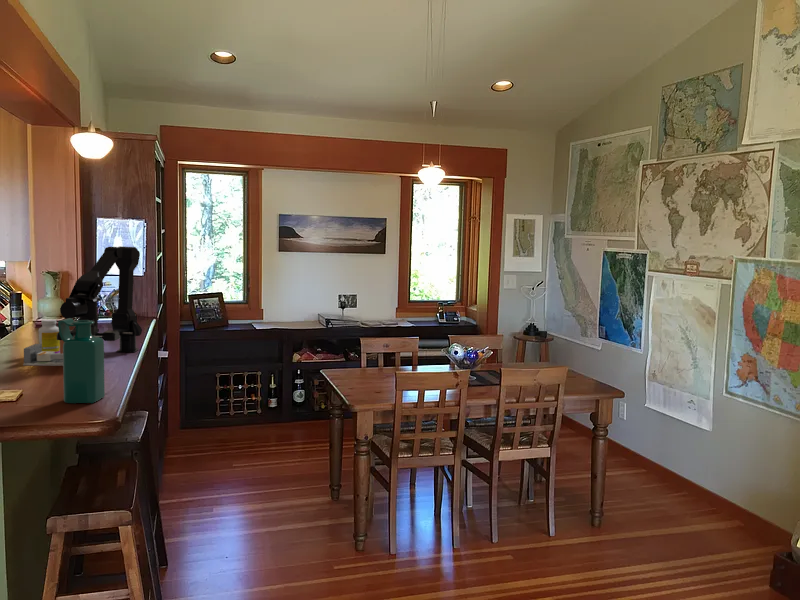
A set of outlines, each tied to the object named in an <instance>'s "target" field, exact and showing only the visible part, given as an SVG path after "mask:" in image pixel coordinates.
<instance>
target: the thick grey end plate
mask: <svg viewBox="0 0 800 600" xmlns="http://www.w3.org/2000/svg"><path fill="white" fill-rule="evenodd" d="M53 359H63V352H62V353H61V352H60V353H55V351H42V352H40V353H37V361H51V360H53Z"/></svg>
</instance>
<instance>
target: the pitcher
mask: <svg viewBox="0 0 800 600" xmlns="http://www.w3.org/2000/svg"><path fill="white" fill-rule="evenodd" d="M57 324H58V325H57V327H58V328H59V334H60V337H61V339H62V340H61V341H63V344H62V354H63V366H62V372H63V378H62V379H63V402H64V403H65V404H76V403H91V404H95V403H97V402H98V401H100V400H101V398H102V399H104V398H105V394H106V393H105V391H106V389H105V341H104V340H103V339H102V338H100V337H96V336H92V334H91V324H94V321H92V320H78V319H77V320H74V318H68V319H66V318H63V319H61V320H58V321H57ZM75 326H76V335H75V337H73V336H72V335H71V333H70V330H71V329H70V327H75ZM96 401H97V402H96ZM94 402H95V403H94Z"/></svg>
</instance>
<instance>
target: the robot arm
mask: <svg viewBox="0 0 800 600" xmlns="http://www.w3.org/2000/svg"><path fill="white" fill-rule="evenodd" d="M103 250H104V251H103V253H102V255H101V256H100V257H99V259H98V260H97V261H96V262H95V264H94V265H93V266H92V268H91V269H90V270H89V271H88V272H86V273H84V274H82V275H81V276H80V277H79V278H77V280H75V283H74V284H73V287H72V289H71V292H70V294H69V297H66V298H65V301H64V302H63V303H62V304H61V306H60V308H59V311H60V315H61V316H62V317H63V319H68V318H72V319H75V318H78V319H77V320H92V321H94V324H91V334H92V336H96V337H100V338H102V339H103V341H104V342H106V341H107V342H114V341H117V340H119V348H118V349H117V350H116V353H136V352H137V351H138V350H140V348H139V347H137V337H139V336H141V335H142V331H143V328H142V327H141V325H140V324H139V322H138V319H137V318H138V317H137V314H136V313H135V311H134V309H133V300H134V299H133V298H134V273H135V272H134V271H135V270H136V268H137V267H138V265H139V261H140V255H141V253H140V251H139V250H138V248H137V247H136V246H107V247H105V248H104V249H103ZM114 265H116V267H117V268H118V274H119V275H118V295H117V296H118V297H117V298H118V300H117V309H116V311H115V312H113V313H112V314H111V322H110V323H111V328H112V330H109V329H108V330H105V331H104V332H103V331H102V332H99V331H100V329H99V324H98V323H99V319H100V318H99V316H98V315H99V314H98V302H101V301H102V298H100V297H99V296H98V295H99V294H100V293H101V291H102V288H103V287H104V278H106V276H107V275H108V273H109V272H110V270H111V269H112V267H113V266H114ZM70 333H71V335H72V336H73V337H75V335H76V326H74V328H73V329H70ZM57 340H60V341H63V340H62V339H61V337H60V334H59V332H58V333H57Z"/></svg>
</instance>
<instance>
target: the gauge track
mask: <svg viewBox="0 0 800 600" xmlns="http://www.w3.org/2000/svg"><path fill="white" fill-rule="evenodd" d="M40 352H42V344H39V343H35V344H32V345H29V346H27V347H25V348H24V347H23V363H22V364H23V365H22V366H44V367H45V366H49V367H50V366H52V367H53V366H55V367H56V366H58V367H60V366H62V367H63V359H53V360H51V361H37V353H40Z"/></svg>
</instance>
